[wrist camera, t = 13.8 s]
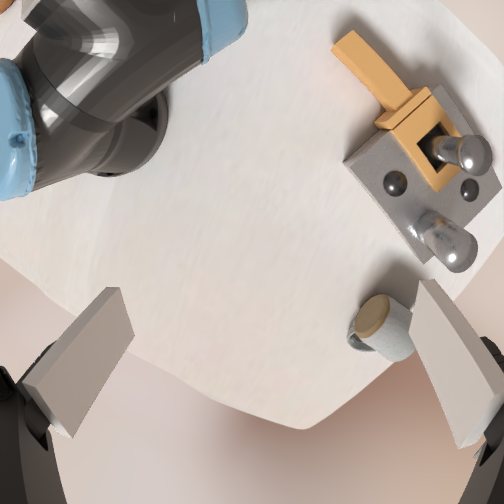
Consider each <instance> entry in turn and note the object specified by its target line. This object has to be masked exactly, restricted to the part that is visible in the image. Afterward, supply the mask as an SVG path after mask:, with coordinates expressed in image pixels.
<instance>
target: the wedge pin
mask: <svg viewBox="0 0 504 504" xmlns="http://www.w3.org/2000/svg"><path fill="white" fill-rule="evenodd" d="M416 144H417V145H418V147H419V148H420V150H421V151H422V152H423V154H424V155H425V157H428V158H432V159H435V160H439V161H442V162H446V163H449V164H453V165H456V166H459V167H460V168H461V169H462V170H463V171H464V172H465V173H468V174H471V175H473V176H482V175H484V174H485V173H487V171H488V170H489V168H490V166H491V163H492V151H491V148H490V145H489V143H488V142H487V141H486V139H485V138H483V137H482V136H479V135H472V134H467V135H464V136H463V137H456V136H448V135H439V134H430V133H427V134H426V135H425V136H424V137H422V138H421V139H420V140H419V141H418V142H417V143H416Z"/></svg>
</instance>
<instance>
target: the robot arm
mask: <svg viewBox="0 0 504 504" xmlns="http://www.w3.org/2000/svg"><path fill="white" fill-rule="evenodd" d="M21 19H22V20H23V21H24V22H26V23H27V24H28V25H30V26H31V27H32V28H34V29H35V30H36V31H37V32H36V34H35V35H34V36H33V37H32V38H31V40H30V41H29V42H28V43H27V44H26V46H25V47H24V48H23V49H22V50H21V52H20V53H19V54H18V55H17V57H16V58H15V59H13V60H10V59H6V58H0V201H5V200H9V199H12V198H16V197H24V196H26V195H27V194H28V193H30V192H32V191H35V190H38V189H40V188H43V187H45V186H48V185H51V184H53V183H56V182H59V181H62V180H64V179H67V178H70V177H73V176H76V175H79V174H82V173H89V174H93V175H97V176H102V177H116V176H121V175H124V174H127V173H130V172H132V171H135V170H137V169H139V168H140V167H142V166H143V165H144V164H146V163H147V162H148V161H149V160H150V159H151V158H152V157H153V155H154V154H155V153H156V151H157V150H158V148H159V146H160V144H161V142H162V140H163V138H164V135H165V131H166V127H167V120H168V110H167V103H166V99H165V96H164V93H163V91H162V90H163V89H164V88H165V87H167V86H168V85H170V84H171V83H172V82H174V81H175V80H177V79H178V78H180V77H181V76H183V75H184V74H186V73H187V72H189V71H190V70H192V69H193V68H195V67H196V66H198V65H200V64H202V65H203V64H205V63H207V62H208V61H209V59H210V57H211V56H213V55H214V54H216V53H217V52H219V51H220V50H222V49H223V48H225V47H226V46H228V45H230V44H231V43H233V42H235V41H236V40H238V39H239V38H240V37H241V36H242V35H243V34H244V32H245V30H246V27H247V24H248V10H247V5H246V1H245V0H22V11H21ZM408 333H409V335H410V337H411V339H412V341H413V343H414V345H415V347H416V349H417V352H418V354H419V356H420V358H421V360H422V362H423V364H424V367H425V369H426V371H427V373H428V375H429V378H430V380H431V382H432V384H433V387H434V389H435V391H436V393H437V396H438V399H439V401H440V403H441V406H442V408H443V411H444V413H445V416H446V418H447V421H448V423H449V426H450V429H451V431H452V434H453V437H454V440H455V442H456V445H457V448H458V449H461V448H464V447H467V446H469V445H473V444H475V443H476V442H477V441H478V440H479V438H480V437H481V436H482V434H483V433H484V435H485V437H486V441H485V443H484V444H483V445H482V446H481V448H480V449H479V450H478V451H477V453H476V454H475V455H474V457H473V458H476V457H477V456H478V455H479V454H480V455H479V457H478V460H477V462H476V465H475V468H474V470H473V472H472V475H471V477H470V480H469V482H468V484H467V486H466V488H465V491H464V493H463V495H462V497H461V499H460V502H459V503H458V504H504V356H503V355H501V351H500V350H499V349H498V347H497V346H496V344H495V343H493V342H492V341H491V340H489V339H488V338H487V337H479V336H478V335H477V333H476V332H475V331H474V329H473V328H472V327H471V325H470V324H469V322H468V321H467V320H466V318H465V317H464V316H463V314H462V313H461V312H460V311H459V309H458V308H457V307H456V305H455V304H454V303H453V301H452V300H451V299H450V298H449V296H448V295H447V294H446V293H445V291H444V290H443V289H442V288H441V287H440V285H439V284H438V283H437V282H436V280H435V279H431V280H419V286H418V291H417V296H416V301H415V306H414V311H413V315H412V320H411V324H410V328H409V332H408ZM134 336H135V335H134V332H133V329H132V326H131V323H130V320H129V317H128V314H127V310H126V307H125V304H124V301H123V297H122V294H121V290H120V287H106V288H105V289H104V290H103V291H102V292H101V293H100V294H99V295H98V296H97V297H96V298H95V299H94V300H93V302H92V303H91V304H90V305H89V306H88V307H87V308H86V309H85V310H84V311H83V312H82V313H81V314H80V315H79V316H78V318H77V319H76V320H75V321H74V322H73V323H72V324H71V325H70V326H69V327H68V329H67V330H66V331H65V332H64V333H63V334H62V335H61V336H60V337H59V339H58V340H56V341H55V342H53V343H52V344H51V345H49V346H48V347H47V348H46V349H45V350H44V351H43V352H42V353H41V356H39V357H38V358H37V359H36V361H35V363H33V364H32V365H31V366H30V367H29V369H28V370H27V371H26V372H25V373H24V375H23V376H22V377H21V378H20V379H19V381H18V382H17V383H16V384H15V383H14V381H13V380H12V378H11V376H10V375H9V373H8V371H7V370H6V368H5V367H3V366H0V504H67V502H66V499H65V495H64V492H63V488H62V484H61V481H60V476H59V472H58V468H57V463H56V459H55V453H54V448H53V443H52V437H51V434H50V431H49V430H48V429H47V428H48V427H49V425H50V424H52V426H53V427H54V429H55V430H56V431H57V432H58V433H59V434H62V435H64V436H67V437H70V438H73V437H74V435H75V433H76V432H77V430H78V428H79V426H80V424H81V423H82V421H83V419H84V417H85V416H86V414H87V412H88V411H89V409H90V407H91V405H92V404H93V402H94V400H95V399H96V397H97V396H98V394H99V392H100V391H101V389H102V387H103V386H104V384H105V382H106V381H107V379H108V378H109V376H110V374H111V372H112V371H113V369H114V368H115V366H116V365H117V363H118V361H119V360H120V358H121V357H122V355H123V353H124V352H125V350H126V349H127V347H128V346H129V344H130V342H131V341H132V339H133V338H134Z"/></svg>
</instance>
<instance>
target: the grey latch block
mask: <svg viewBox="0 0 504 504" xmlns="http://www.w3.org/2000/svg"><path fill="white" fill-rule="evenodd" d="M427 88H428V89H429V91H430V92H431V94H430V95H433V96H434V97H435V99H436V100H437V101H438V103H439V104H440V105H441V107H442V108H443V110H444V111H445V113H446V114H447V115H448V117H449V118H450V120H451V121H452V123H453V124H454V126H455V128H456V129H457V131H458V132H459V134H460V135H461V137H463V136H464V135H467V134H472V135H475V134H474V133H473V131H472V129H471V128H470V126H469V125H468V123H467V121H466V120H465V118H464V117H463V115H462V113H461V112H460V110H459V109H458V107H457V106H456V104H455V103H454V102H453V100H452V99H451V97H450V96H449V94H448V93H447V92H446V90H445V89H444V87H443V86H442V85H441V84H440V85H435V86H431V87H427ZM390 130H391V129H380V130H379V131H378V132H376V133H375V134H374V135H373V136H372V137H371V138H370V139H369V140H368V141H366V142H365V143H364V144H363V145H362V146H361V147H360V148H359V149H358V150H356V151H355V152H354V153H353V154H352V155H351V156H350V157H349V158H348V159H346V160H345V161H344V162H343V164H344V166H345V167H346V168H347V169H348V170H349V171H350V172H351V174H352V175H353V176H354V177H355V178H356V180H357V181H358V182H359V183H360V184H361V185H362V187H363V188H364V189H365V190H366V191H367V193H368V194H369V195H370V196H371V198H372V199H373V200H374V201H375V203H376V204H377V205H378V206H379V208H380V209H381V210H382V211H383V213H384V214H385V215H386V217H387V218H388V219H389V221H390V222H391V223H392V225H393V226H394V227H395V229H396V230H397V231H398V233H399V234H400V235H401V237H402V238H403V239H404V241H405V242H406V244H407V245H408V246H409V248H410V249H411V251H412V252H413V253H414V254H415V255H416V257H417V258H418V259H419V260H420V261H421V262H422V263H423V264H425V263H426V262H427V261H428V260H429V259H431V258H432V257H433V256H434V255H435V256H436V257H437V258H438V259H439V260H440V261H441V262H442V263H443V264H444V265H445V266H446V267H447V268H448V269H449V270H450V271H451V272H454V273H460V272H463V271H465V270H467V269H468V268H469V267H470V266H471V265H472V264H473V262H474V261H475V259H476V256H477V252H478V244H477V241H476V239H475V237H474V236H473V235H472V234H470V233H469V232H467V231H466V230H465V229H463V228H464V227H465V226H466V225H467V224H468V223H469V222H470V221H471V220H472V219H473V218H474V217H475V216H476V215H477V214H478V213H479V212H480V211H481V210H482V209H483V208H484V207H485V206H486V205H487V204H488V203H489V202H490V201H491V200H492V199H493V197H494V196H495V195H496V194H497V193H498V192H499V191H500V190H501V189H502V186H501V184H500V182H499V180H498V178H497V176H496V173H495V171H494V169H493V167H492V165H491V166H490V168H489V170H488V171H487V173H485V174H484V175H482V176H473V175H471V174H468V173H465V172H464V171H463V170H462V169H461V170H460V171H459V172H458V173H457V174H456V175H455V176H454V177H453V178H452V179H451V180H450V181H449V182H448V183H447V184H446V185H445V186H444V187H443V188H442V189H441V190H440V191H439V192H438V193H437V192H435V191H434V190H433V189H432V187H431V186H430V184H429V183H428V181H427V180H426V178H425V177H424V175H423V174H422V172H421V171H420V170H419V168H418V167H417V165H416V164H415V163H414V161H413V160H412V158H411V157H410V156H409V154H408V153H407V152H406V150H405V149H404V148H403V146H402V145H401V144H400V142H399V141H398V140H397V138H396V137H395V136H394V135H393V133H392V132H391V131H390ZM430 132H431V133H432V134H439V135H446V134H445V133H444V131H443V130H442V128H441V127H440V125H439V124H438V123H437V124H436V125H435V126H434V127H433V128H432V129H431V130H430ZM428 161H429V163H430V164H431V165H432V167H433V168H434V170H437V169H438V168H439V167H440V166H441V165H442V164H443V163H444V162H442V161H439V160H435V159H432V158H430V159H429V160H428Z"/></svg>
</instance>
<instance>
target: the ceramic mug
mask: <svg viewBox="0 0 504 504" xmlns="http://www.w3.org/2000/svg"><path fill="white" fill-rule="evenodd" d="M412 315H413V313H412V312H411V311H409V310H408V309H407V308H405V307H404V306H402V305H401V304H400V303H398V302H397V301H396V300H395V299H393V298H392V297H390V296H387V295H385V294H378V295H376V296H373V297H371V298H370V299H369V300H368V301H367V302H366V303H365V304H364V305H363V306H362V307H361V309H360V310H359V312H358V314H357V317H356V319H355V324H354V325H353V326H352V327H351V328H350V329H349V331H348V334H347V342H348V344H349V345H350V346H351V347H352V348H354V349H356V350H358V351H362V352H374V351H377V352H378V353H379V354H381V355H382V356H384V357H385V358H386V359H388V360H390V361H393V362H398V361H401V360H403V359H405V358H407V357H408V356H410V355H411V354H412V353H413V352H414V351H415V349H416V347H415V345H414V343H413V341H412V339H411V337H410V335H409V333H408V332H409V328H410V324H411V320H412ZM354 333H356V335H357V336H358V337H359V338H360V339H361V340H362V341H363V342H364V343H361V342H359V341H357V340H356V339H355V338H354V337H353V336H351V335H352V334H354Z"/></svg>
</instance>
